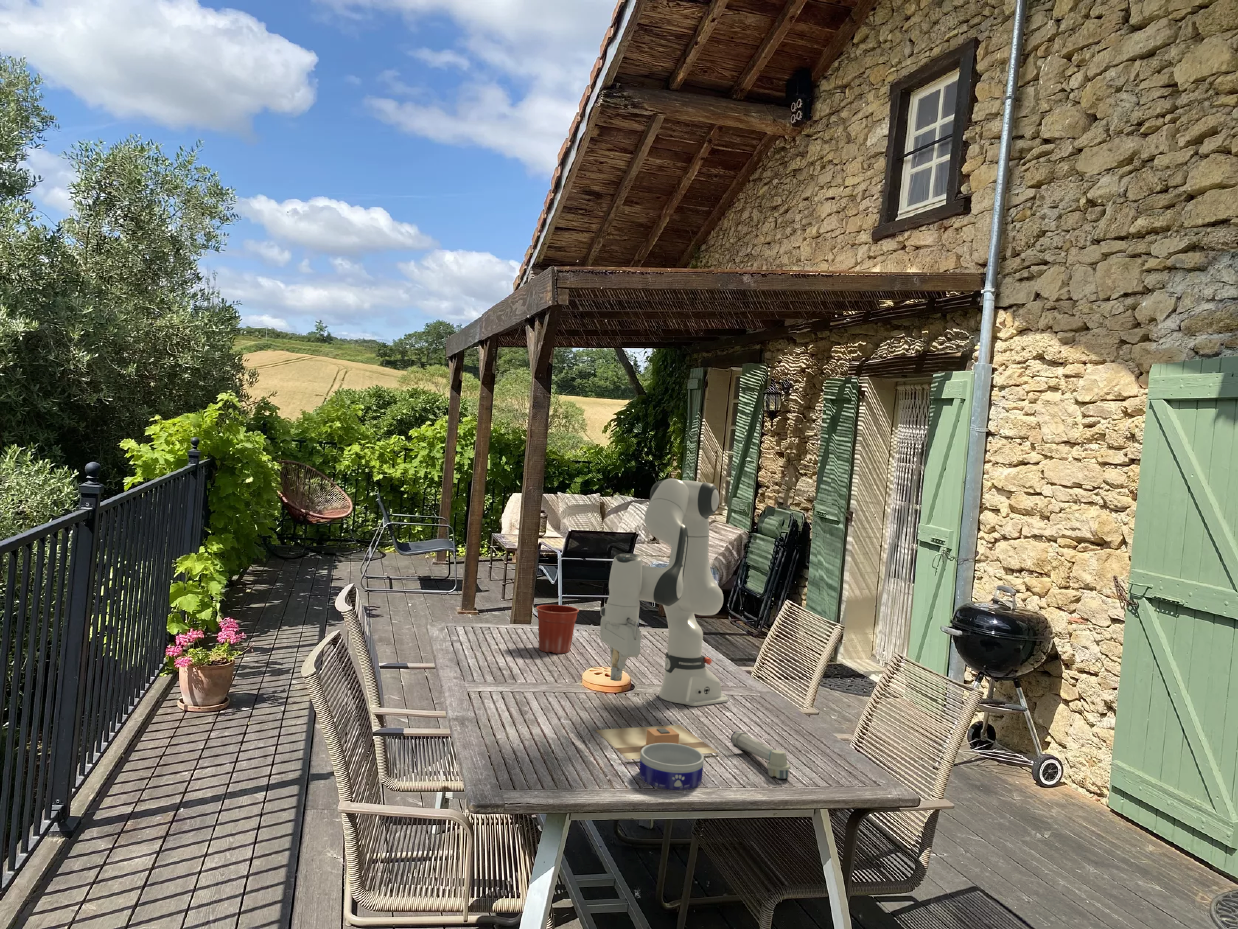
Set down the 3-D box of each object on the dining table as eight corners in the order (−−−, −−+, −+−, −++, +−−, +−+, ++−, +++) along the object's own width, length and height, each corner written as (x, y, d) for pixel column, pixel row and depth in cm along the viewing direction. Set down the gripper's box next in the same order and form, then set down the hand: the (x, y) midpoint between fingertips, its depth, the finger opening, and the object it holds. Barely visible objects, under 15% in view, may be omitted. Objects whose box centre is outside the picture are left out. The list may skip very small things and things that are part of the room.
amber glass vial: (618, 678, 226) (622, 644, 226) (623, 681, 223) (626, 647, 223) (608, 678, 225) (611, 644, 225) (612, 681, 222) (615, 647, 222)
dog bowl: (655, 794, 191) (658, 767, 191) (628, 769, 205) (630, 744, 205) (713, 788, 197) (715, 762, 197) (683, 764, 211) (685, 740, 211)
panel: (679, 729, 238) (679, 725, 238) (718, 757, 218) (718, 752, 218) (594, 734, 228) (595, 730, 228) (627, 764, 208) (627, 759, 208)
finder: (669, 742, 222) (671, 726, 222) (678, 749, 218) (679, 733, 218) (645, 744, 220) (647, 728, 220) (653, 751, 215) (655, 734, 215)
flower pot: (538, 643, 330) (541, 602, 330) (579, 647, 328) (582, 607, 328) (528, 652, 314) (531, 610, 314) (571, 657, 312) (574, 614, 312)
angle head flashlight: (745, 730, 230) (794, 749, 206) (745, 755, 229) (794, 778, 206) (728, 730, 228) (775, 750, 205) (728, 756, 228) (775, 779, 204)
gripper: (648, 623, 215) (643, 676, 215) (619, 607, 234) (614, 657, 234) (626, 622, 213) (621, 676, 213) (598, 607, 232) (593, 656, 232)
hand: (617, 666), depth 224 cm, fingers closed on amber glass vial, 3 cm apart
